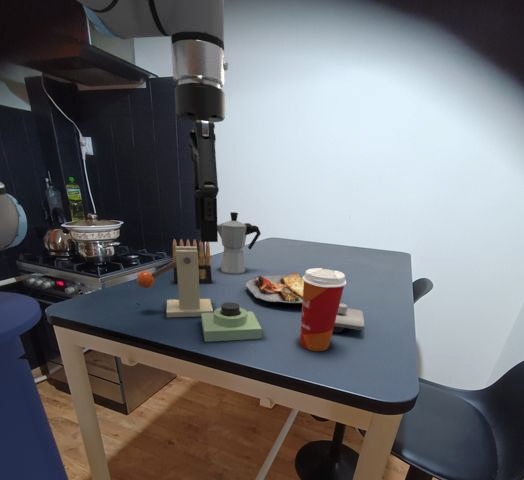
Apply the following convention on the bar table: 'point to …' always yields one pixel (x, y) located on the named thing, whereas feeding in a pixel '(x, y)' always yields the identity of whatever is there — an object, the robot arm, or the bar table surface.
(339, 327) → the light switch
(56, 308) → the bar table surface
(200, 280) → the ammunition clip
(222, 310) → the button
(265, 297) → the food plate
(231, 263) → the coffee maker
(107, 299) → the bar table surface
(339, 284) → the paper cup
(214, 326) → the button block
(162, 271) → the switch lever
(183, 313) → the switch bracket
